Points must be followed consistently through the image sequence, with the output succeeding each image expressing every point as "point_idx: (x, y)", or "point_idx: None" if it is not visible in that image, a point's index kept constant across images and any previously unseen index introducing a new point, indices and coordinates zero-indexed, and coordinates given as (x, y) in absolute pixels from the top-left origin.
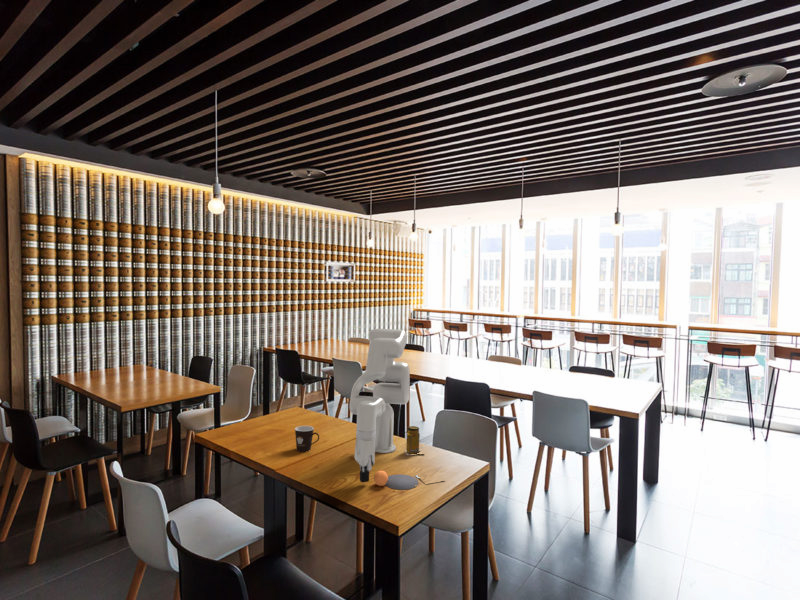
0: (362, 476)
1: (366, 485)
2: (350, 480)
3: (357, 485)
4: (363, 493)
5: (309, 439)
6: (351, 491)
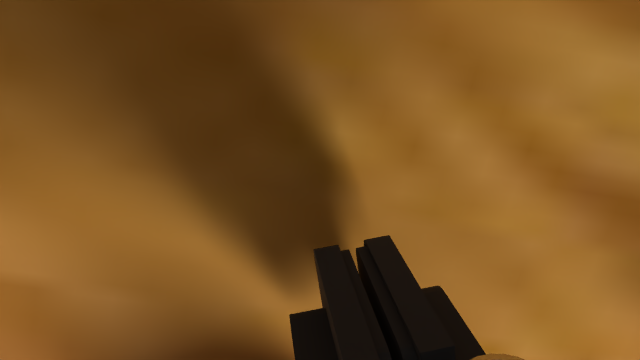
0: (331, 325)
1: None
2: (577, 88)
3: (357, 168)
4: (28, 212)
5: None
6: (133, 21)
